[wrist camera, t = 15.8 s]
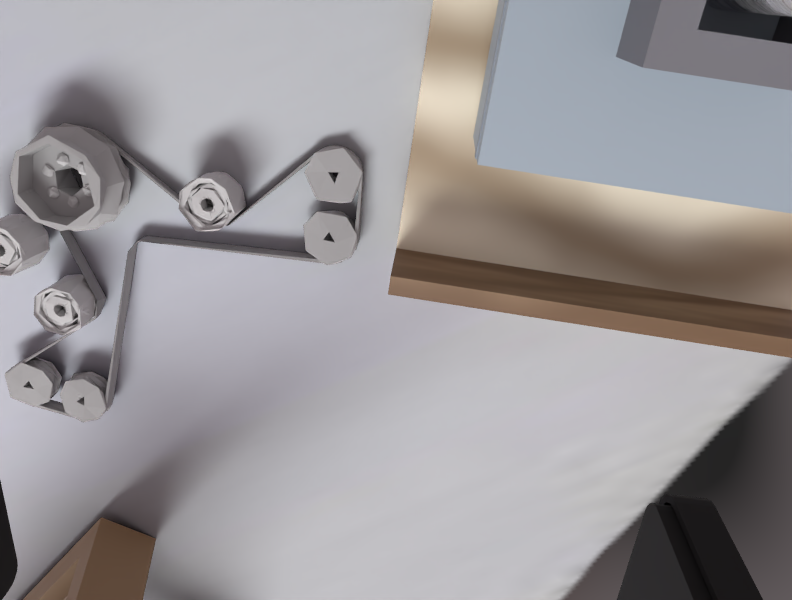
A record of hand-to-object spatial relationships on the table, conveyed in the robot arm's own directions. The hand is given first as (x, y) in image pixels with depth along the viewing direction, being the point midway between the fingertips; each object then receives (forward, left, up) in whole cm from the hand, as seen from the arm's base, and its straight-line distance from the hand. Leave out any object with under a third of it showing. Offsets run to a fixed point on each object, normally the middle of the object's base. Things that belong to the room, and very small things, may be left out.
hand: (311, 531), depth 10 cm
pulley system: (+8, -15, -30) cm, 34 cm away
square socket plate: (-7, +11, -27) cm, 30 cm away
